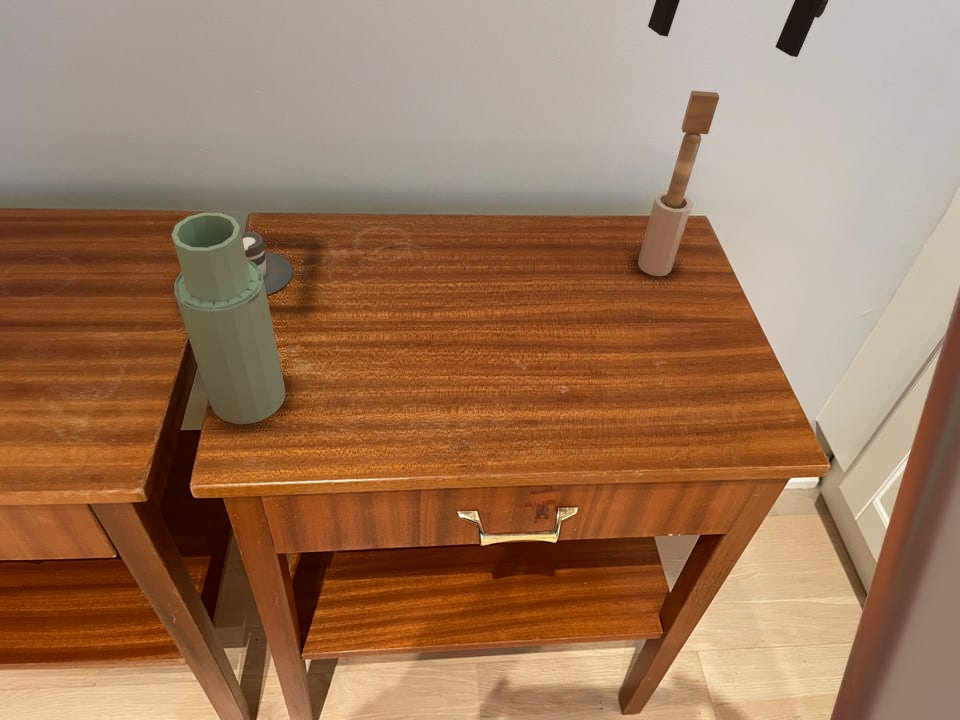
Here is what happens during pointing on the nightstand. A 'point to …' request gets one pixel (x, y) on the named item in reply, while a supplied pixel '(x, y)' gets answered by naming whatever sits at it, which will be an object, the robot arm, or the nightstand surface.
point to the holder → (663, 236)
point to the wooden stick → (691, 142)
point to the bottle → (227, 319)
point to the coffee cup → (267, 262)
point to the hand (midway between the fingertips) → (723, 42)
